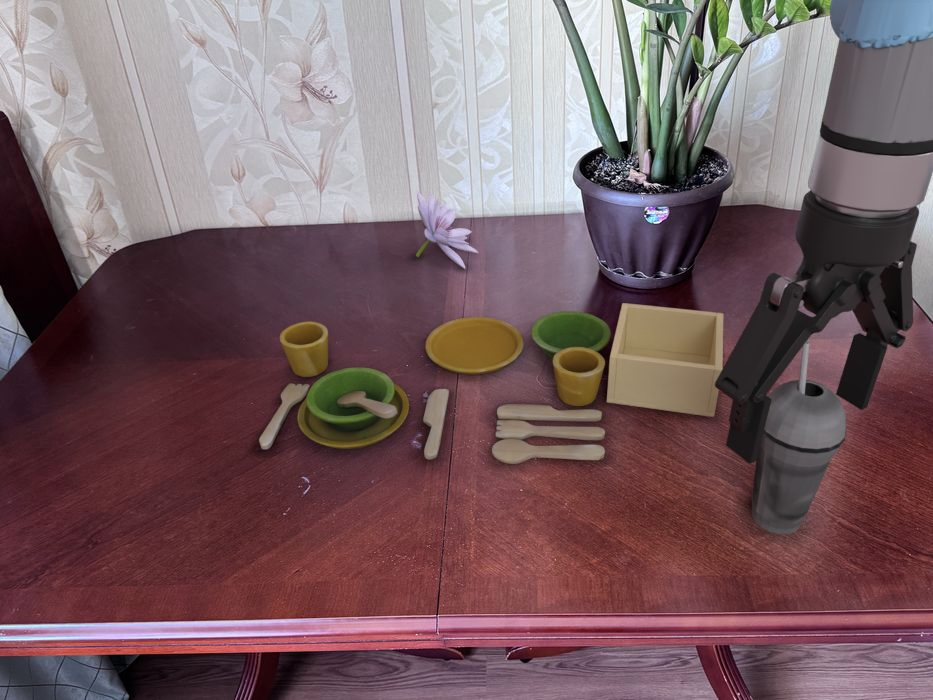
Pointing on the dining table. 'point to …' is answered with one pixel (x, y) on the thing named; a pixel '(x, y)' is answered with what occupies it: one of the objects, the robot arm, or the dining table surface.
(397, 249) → the dining table surface
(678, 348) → the box
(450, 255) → the water lily
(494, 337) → the tableware set
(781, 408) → the beverage cup
